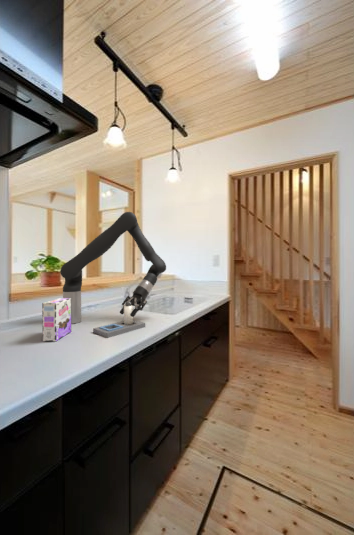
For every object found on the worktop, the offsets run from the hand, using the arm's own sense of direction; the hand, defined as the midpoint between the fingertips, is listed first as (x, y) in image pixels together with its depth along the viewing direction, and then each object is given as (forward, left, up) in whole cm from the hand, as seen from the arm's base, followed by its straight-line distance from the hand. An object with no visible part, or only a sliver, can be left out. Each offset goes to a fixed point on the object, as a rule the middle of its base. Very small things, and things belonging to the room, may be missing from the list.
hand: (126, 314), depth 114 cm
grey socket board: (0, -4, -7) cm, 8 cm away
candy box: (-13, -28, -7) cm, 31 cm away
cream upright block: (0, +1, -7) cm, 7 cm away
